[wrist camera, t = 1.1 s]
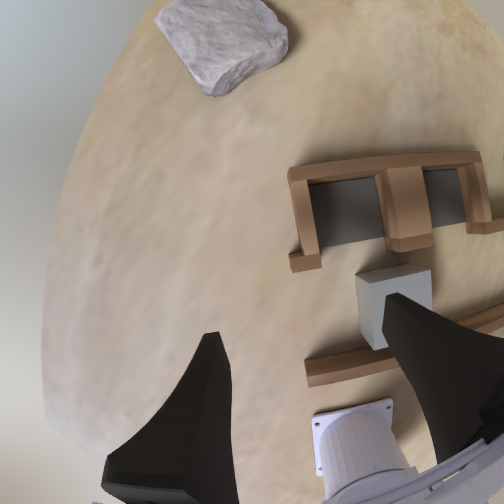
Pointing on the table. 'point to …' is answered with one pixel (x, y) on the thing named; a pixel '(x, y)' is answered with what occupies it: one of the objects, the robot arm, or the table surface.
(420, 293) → the slate block
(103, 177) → the table surface
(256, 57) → the stone block
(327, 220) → the box
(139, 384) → the table surface
